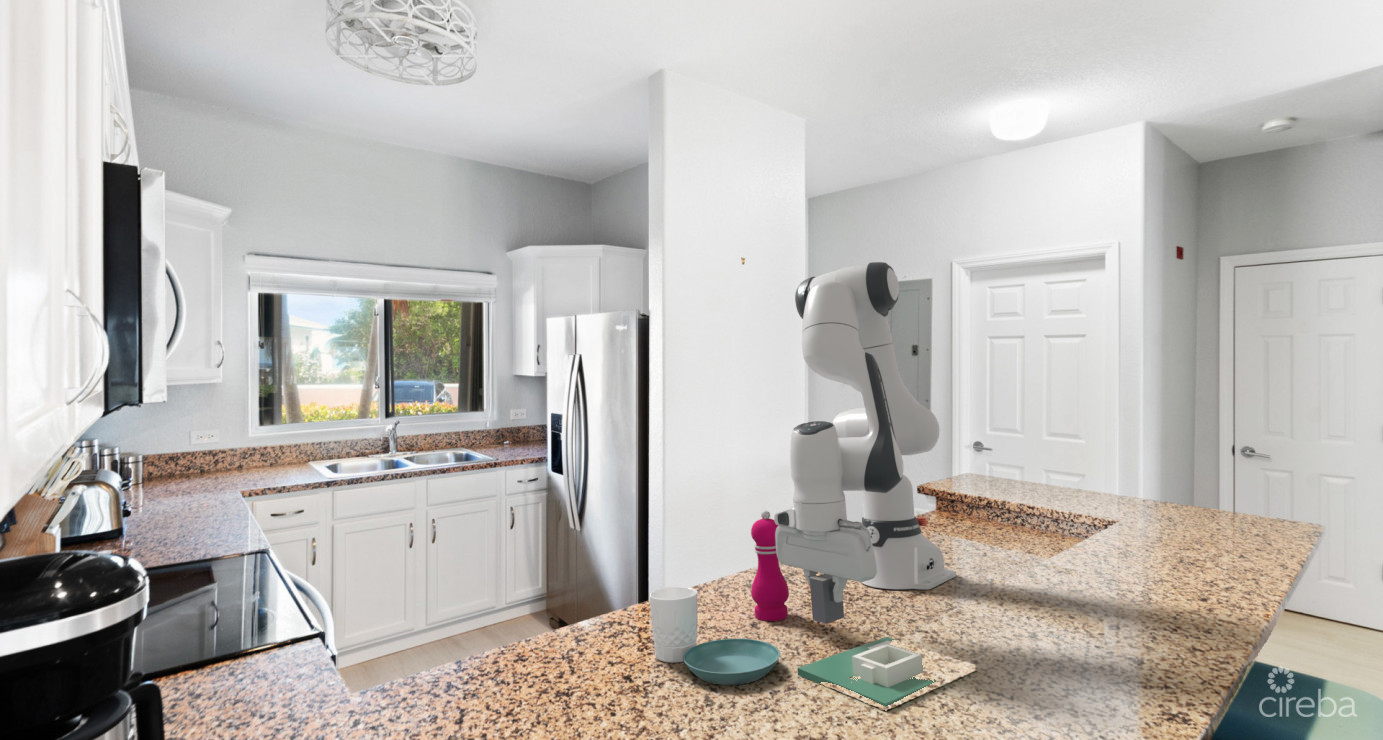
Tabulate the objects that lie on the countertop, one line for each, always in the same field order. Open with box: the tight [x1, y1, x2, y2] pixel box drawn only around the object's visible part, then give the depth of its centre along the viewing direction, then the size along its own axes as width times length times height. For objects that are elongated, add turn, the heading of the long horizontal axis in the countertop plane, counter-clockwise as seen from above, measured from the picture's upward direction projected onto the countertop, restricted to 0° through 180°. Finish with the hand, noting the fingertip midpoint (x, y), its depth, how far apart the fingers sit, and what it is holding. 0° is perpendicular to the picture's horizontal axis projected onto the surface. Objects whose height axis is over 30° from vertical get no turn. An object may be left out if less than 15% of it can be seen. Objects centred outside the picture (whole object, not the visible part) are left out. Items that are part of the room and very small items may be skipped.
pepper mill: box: [750, 510, 790, 622], centre depth 126 cm, size 7×7×20 cm
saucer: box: [683, 638, 781, 686], centre depth 99 cm, size 15×15×3 cm
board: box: [796, 636, 936, 707], centre depth 95 cm, size 20×16×4 cm
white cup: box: [649, 586, 699, 664], centre depth 107 cm, size 8×8×10 cm
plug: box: [809, 573, 845, 625], centre depth 112 cm, size 4×3×7 cm, turn 125°
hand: (826, 598), depth 112 cm, fingers closed on plug, 3 cm apart
